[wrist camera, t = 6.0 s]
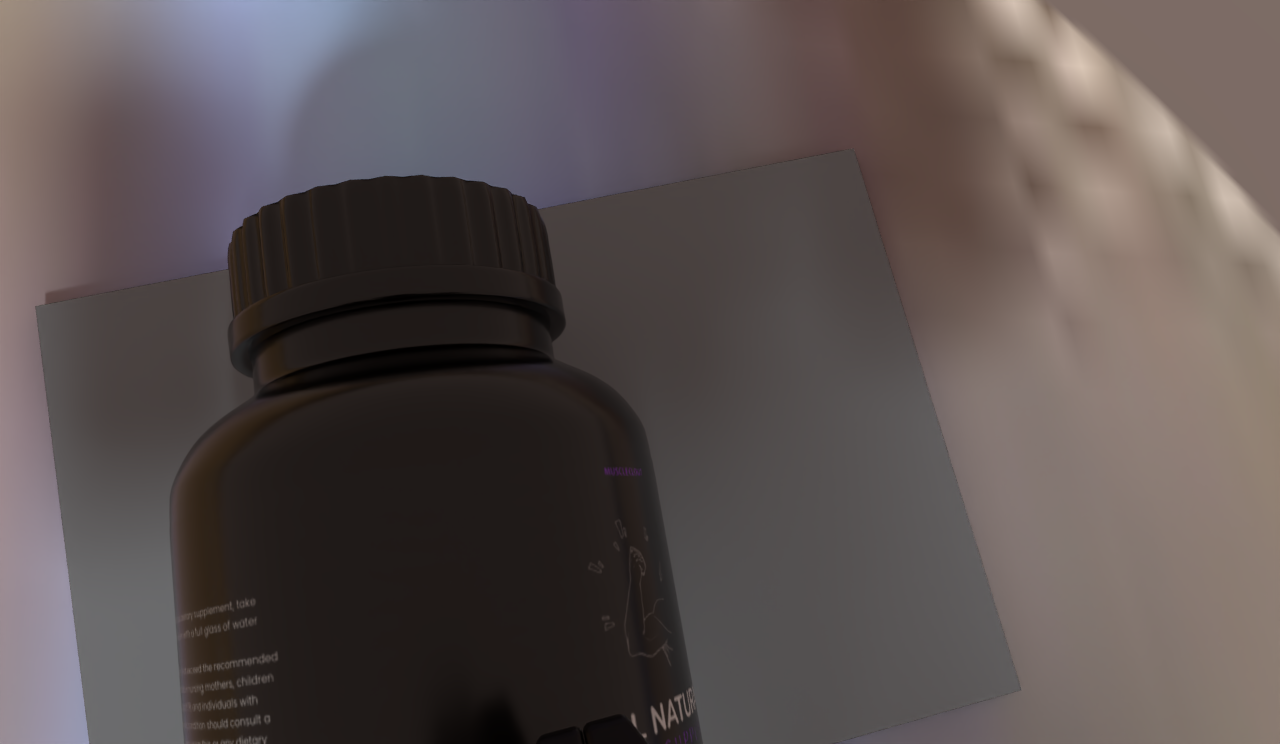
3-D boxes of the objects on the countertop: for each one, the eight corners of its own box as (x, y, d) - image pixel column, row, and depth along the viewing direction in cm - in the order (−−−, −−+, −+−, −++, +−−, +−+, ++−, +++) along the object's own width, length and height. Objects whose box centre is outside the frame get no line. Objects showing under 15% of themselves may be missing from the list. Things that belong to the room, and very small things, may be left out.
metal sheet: (1013, 688, 18) (1021, 690, 18) (122, 942, 16) (115, 948, 15) (849, 154, 20) (853, 148, 20) (43, 311, 18) (34, 306, 18)
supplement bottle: (843, 1166, 10) (636, 107, 12) (132, 1399, 9) (50, 160, 11) (697, 936, 16) (580, 277, 19) (283, 1046, 15) (213, 323, 17)
